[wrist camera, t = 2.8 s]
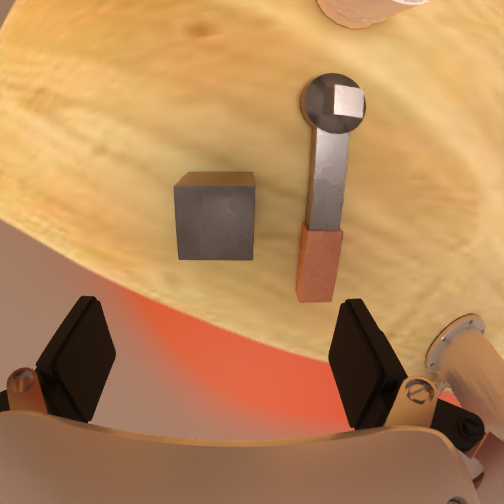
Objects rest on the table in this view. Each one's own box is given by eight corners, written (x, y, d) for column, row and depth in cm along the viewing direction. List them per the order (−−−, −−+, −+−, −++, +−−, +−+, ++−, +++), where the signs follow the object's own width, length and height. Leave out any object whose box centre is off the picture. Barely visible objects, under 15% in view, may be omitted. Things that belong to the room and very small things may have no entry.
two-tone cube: (250, 231, 30) (253, 260, 24) (191, 231, 29) (178, 259, 23) (252, 171, 27) (255, 186, 21) (188, 172, 27) (173, 186, 21)
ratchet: (334, 289, 33) (349, 319, 28) (286, 290, 33) (294, 321, 28) (356, 81, 23) (382, 74, 18) (300, 73, 23) (315, 62, 18)
